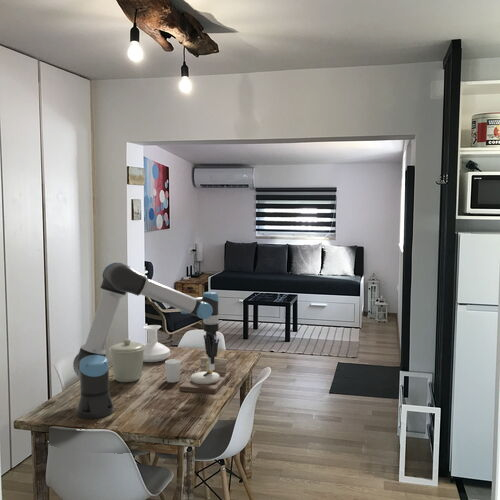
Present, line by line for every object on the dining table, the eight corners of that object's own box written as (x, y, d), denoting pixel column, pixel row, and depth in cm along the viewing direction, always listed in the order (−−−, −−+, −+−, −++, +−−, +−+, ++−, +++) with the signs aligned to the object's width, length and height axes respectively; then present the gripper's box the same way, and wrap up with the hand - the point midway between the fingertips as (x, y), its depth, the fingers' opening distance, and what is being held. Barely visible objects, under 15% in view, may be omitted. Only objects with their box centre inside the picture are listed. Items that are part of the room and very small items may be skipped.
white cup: (178, 383, 262) (177, 363, 261) (163, 382, 263) (162, 363, 262) (183, 378, 269) (182, 359, 269) (168, 377, 271) (168, 358, 270)
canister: (108, 386, 258) (107, 344, 256) (110, 375, 275) (109, 335, 274) (146, 383, 261) (145, 342, 260) (145, 373, 279) (144, 334, 278)
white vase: (127, 360, 302) (127, 328, 301) (153, 353, 319) (152, 321, 317) (152, 366, 291) (152, 332, 289) (177, 358, 307) (176, 325, 306)
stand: (215, 393, 247) (215, 374, 246) (179, 390, 251) (179, 372, 250) (230, 376, 273) (230, 359, 272) (198, 373, 277) (198, 356, 277)
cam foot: (211, 385, 251) (211, 370, 250) (186, 382, 256) (185, 367, 255) (224, 377, 264) (223, 362, 263) (199, 374, 269) (198, 359, 268)
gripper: (223, 324, 258) (224, 371, 259) (211, 320, 269) (212, 365, 270) (210, 326, 254) (210, 374, 255) (198, 321, 265) (199, 367, 266)
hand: (211, 369), depth 262 cm, fingers closed
